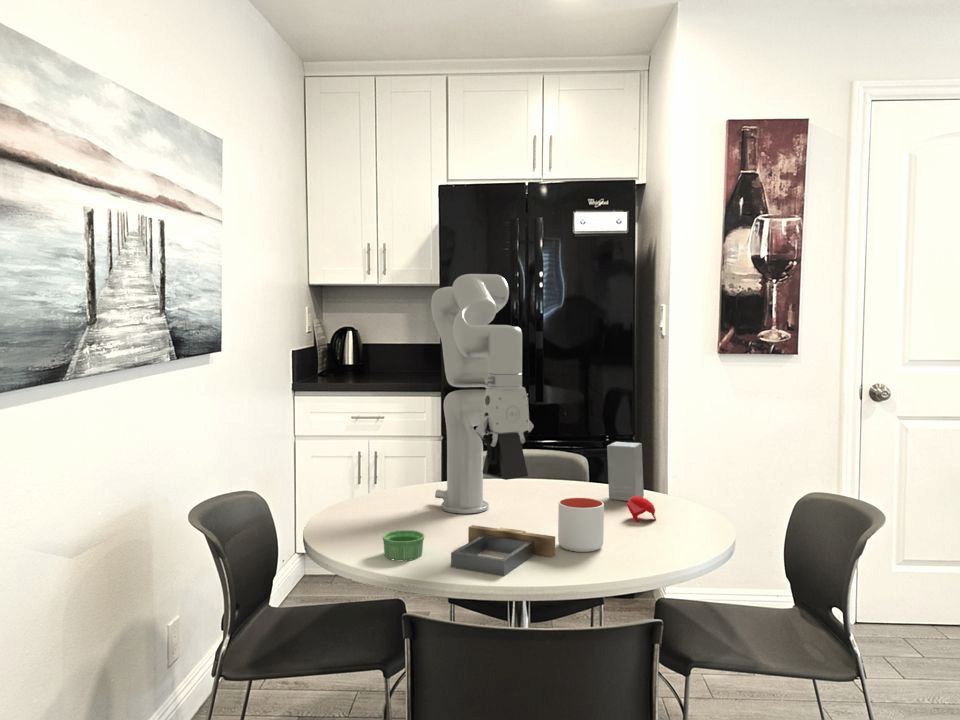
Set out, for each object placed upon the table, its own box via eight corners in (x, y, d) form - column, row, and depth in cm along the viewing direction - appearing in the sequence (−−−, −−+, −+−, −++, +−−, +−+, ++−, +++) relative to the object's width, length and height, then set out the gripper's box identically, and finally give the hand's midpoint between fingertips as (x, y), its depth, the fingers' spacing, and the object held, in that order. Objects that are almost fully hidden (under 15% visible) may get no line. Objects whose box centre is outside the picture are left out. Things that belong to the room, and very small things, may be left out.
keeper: (451, 567, 162) (451, 552, 162) (483, 547, 175) (483, 534, 175) (504, 575, 157) (504, 561, 156) (533, 555, 170) (533, 541, 170)
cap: (627, 511, 195) (648, 499, 195) (621, 497, 201) (642, 486, 200) (641, 533, 198) (662, 521, 198) (635, 519, 204) (655, 508, 203)
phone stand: (528, 477, 175) (528, 423, 174) (506, 480, 172) (506, 425, 171) (503, 470, 182) (503, 418, 182) (482, 473, 179) (482, 420, 178)
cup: (592, 556, 169) (592, 510, 169) (550, 549, 175) (550, 504, 174) (610, 545, 178) (610, 501, 177) (570, 538, 183) (570, 495, 182)
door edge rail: (468, 544, 177) (468, 525, 177) (472, 542, 179) (472, 523, 179) (551, 557, 169) (551, 537, 168) (555, 554, 170) (555, 534, 170)
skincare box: (644, 498, 222) (644, 442, 222) (634, 503, 216) (635, 446, 216) (615, 494, 227) (616, 440, 226) (605, 499, 221) (606, 443, 220)
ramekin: (389, 564, 164) (389, 543, 164) (377, 552, 172) (377, 532, 172) (430, 559, 168) (430, 538, 167) (416, 547, 176) (416, 528, 176)
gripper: (482, 384, 168) (482, 468, 169) (546, 381, 178) (545, 460, 179) (463, 382, 174) (463, 463, 175) (525, 378, 184) (525, 455, 185)
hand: (504, 461), depth 177 cm, fingers closed on phone stand, 6 cm apart
